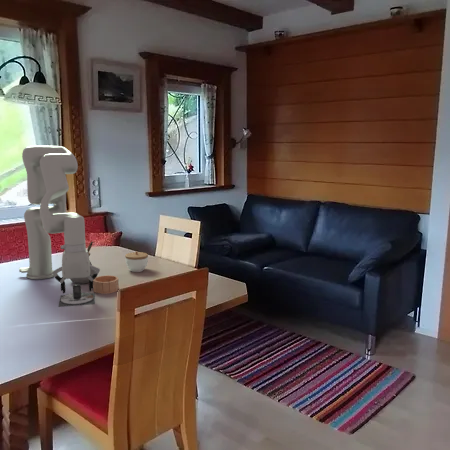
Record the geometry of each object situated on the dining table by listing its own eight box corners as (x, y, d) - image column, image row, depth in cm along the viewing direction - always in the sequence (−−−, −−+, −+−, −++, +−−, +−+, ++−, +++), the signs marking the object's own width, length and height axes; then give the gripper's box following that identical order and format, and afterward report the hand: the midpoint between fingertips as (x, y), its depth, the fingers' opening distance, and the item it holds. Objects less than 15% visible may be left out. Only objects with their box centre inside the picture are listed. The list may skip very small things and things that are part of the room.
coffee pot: (92, 286, 193) (91, 252, 191) (65, 285, 193) (64, 251, 191) (105, 272, 214) (104, 241, 212) (81, 271, 214) (80, 240, 212)
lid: (59, 306, 168) (59, 291, 167) (61, 295, 179) (61, 281, 178) (93, 303, 171) (93, 288, 170) (93, 293, 183) (92, 279, 182)
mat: (58, 307, 168) (58, 306, 168) (60, 296, 180) (60, 295, 180) (94, 304, 171) (94, 303, 171) (94, 293, 183) (94, 293, 183)
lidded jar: (150, 267, 223) (150, 249, 222) (144, 273, 213) (144, 254, 211) (129, 266, 224) (129, 248, 223) (122, 272, 214) (122, 253, 212)
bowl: (93, 295, 182) (93, 283, 181) (93, 287, 191) (93, 276, 190) (119, 293, 185) (118, 281, 184) (117, 286, 194) (117, 274, 193)
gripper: (50, 251, 166) (52, 296, 169) (99, 248, 170) (100, 292, 173) (51, 247, 173) (54, 290, 176) (98, 244, 178) (100, 286, 180)
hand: (77, 291), depth 175 cm, fingers open, 9 cm apart
